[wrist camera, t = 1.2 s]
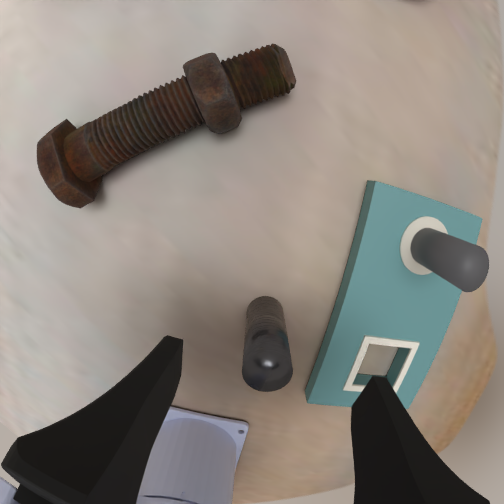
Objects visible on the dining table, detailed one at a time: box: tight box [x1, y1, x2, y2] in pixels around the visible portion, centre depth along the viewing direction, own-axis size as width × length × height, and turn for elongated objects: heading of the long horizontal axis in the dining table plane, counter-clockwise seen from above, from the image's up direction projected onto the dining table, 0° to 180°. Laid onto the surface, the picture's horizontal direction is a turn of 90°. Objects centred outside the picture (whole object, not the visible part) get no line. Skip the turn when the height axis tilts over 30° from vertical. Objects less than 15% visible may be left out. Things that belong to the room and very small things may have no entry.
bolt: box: [37, 44, 296, 208], centre depth 16 cm, size 6×5×15 cm
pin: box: [242, 296, 293, 392], centre depth 18 cm, size 2×2×7 cm
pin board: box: [305, 181, 489, 409], centre depth 17 cm, size 16×9×7 cm, turn 168°
